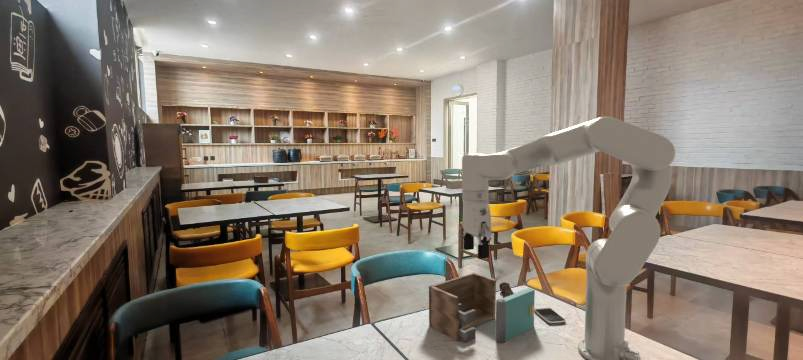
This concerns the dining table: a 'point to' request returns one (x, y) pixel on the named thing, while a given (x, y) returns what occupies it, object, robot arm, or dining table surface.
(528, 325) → the door
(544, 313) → the cell phone
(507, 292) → the hand tool
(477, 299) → the cabinet
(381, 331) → the dining table surface
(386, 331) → the dining table surface
